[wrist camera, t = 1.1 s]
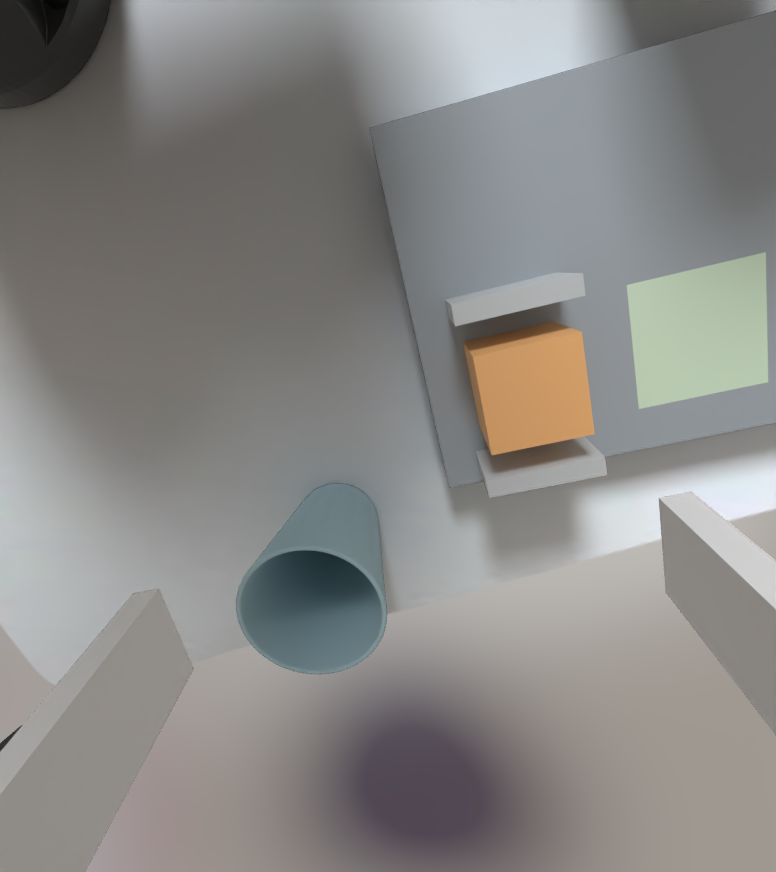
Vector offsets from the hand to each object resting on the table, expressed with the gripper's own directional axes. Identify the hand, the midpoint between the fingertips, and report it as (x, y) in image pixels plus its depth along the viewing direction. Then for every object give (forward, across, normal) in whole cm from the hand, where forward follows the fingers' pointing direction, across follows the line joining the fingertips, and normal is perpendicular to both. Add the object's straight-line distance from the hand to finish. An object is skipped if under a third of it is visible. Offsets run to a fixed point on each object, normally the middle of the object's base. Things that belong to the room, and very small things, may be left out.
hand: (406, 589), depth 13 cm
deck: (+21, +15, +5) cm, 26 cm away
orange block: (+18, +6, +1) cm, 19 cm away
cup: (+21, -7, -8) cm, 23 cm away
